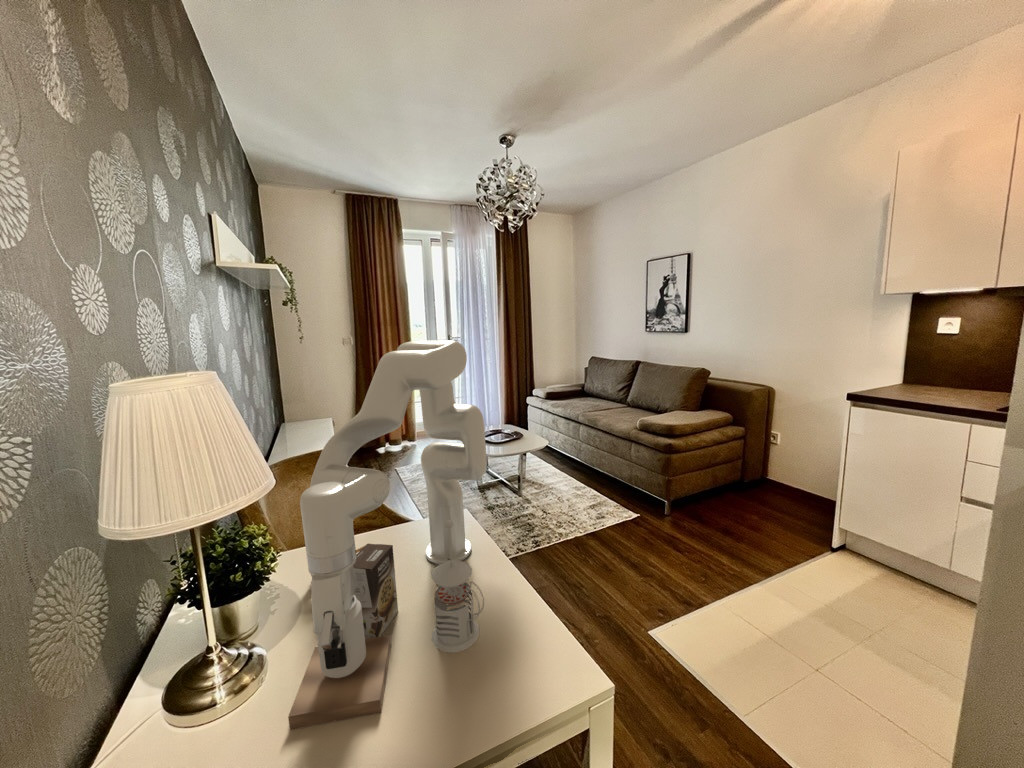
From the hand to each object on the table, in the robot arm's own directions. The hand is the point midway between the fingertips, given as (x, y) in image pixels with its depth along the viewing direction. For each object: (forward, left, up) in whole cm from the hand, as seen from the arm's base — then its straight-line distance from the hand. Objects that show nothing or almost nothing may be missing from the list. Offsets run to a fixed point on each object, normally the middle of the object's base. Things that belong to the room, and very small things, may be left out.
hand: (342, 646), depth 71 cm
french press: (-7, +20, -8) cm, 23 cm away
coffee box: (-14, +3, -8) cm, 16 cm away
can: (0, 0, -4) cm, 4 cm away
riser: (0, 0, -7) cm, 7 cm away
